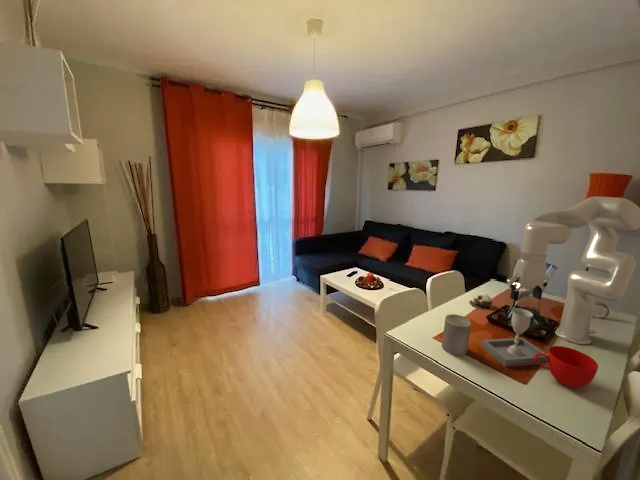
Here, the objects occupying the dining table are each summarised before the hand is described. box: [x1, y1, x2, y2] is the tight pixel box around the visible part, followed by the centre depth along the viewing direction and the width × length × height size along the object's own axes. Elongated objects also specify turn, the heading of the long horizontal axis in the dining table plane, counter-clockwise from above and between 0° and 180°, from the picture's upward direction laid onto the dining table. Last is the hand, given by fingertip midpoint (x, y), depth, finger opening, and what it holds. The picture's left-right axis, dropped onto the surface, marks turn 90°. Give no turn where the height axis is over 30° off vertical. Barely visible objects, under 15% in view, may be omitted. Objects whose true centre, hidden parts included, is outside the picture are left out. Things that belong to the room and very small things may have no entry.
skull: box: [469, 292, 494, 311], centre depth 155 cm, size 12×10×10 cm
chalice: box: [507, 307, 534, 356], centre depth 110 cm, size 7×7×18 cm
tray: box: [481, 337, 548, 368], centre depth 112 cm, size 19×13×3 cm
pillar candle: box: [441, 314, 472, 357], centre depth 114 cm, size 10×10×15 cm
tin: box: [592, 300, 610, 319], centre depth 144 cm, size 15×3×8 cm, turn 58°
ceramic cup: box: [534, 345, 599, 389], centre depth 97 cm, size 13×17×10 cm
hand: (525, 298), depth 107 cm, fingers open, 9 cm apart
